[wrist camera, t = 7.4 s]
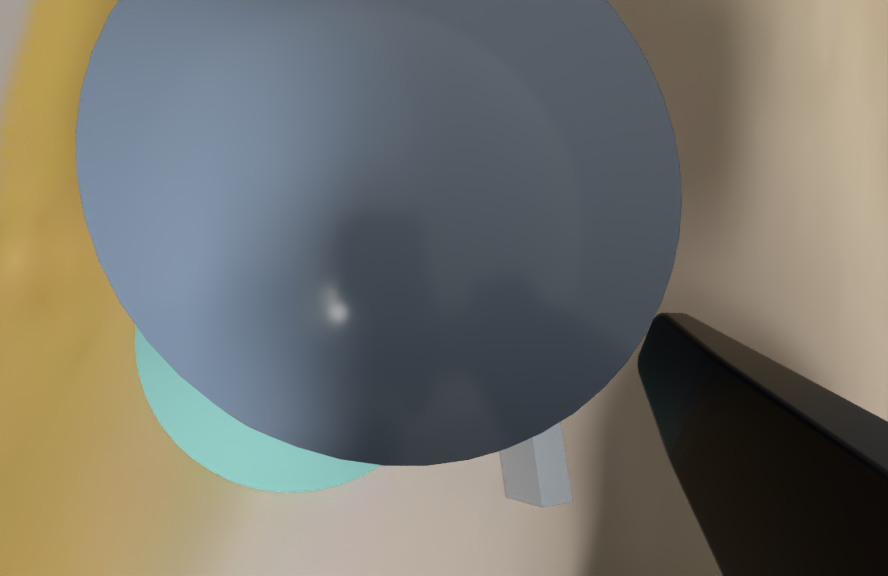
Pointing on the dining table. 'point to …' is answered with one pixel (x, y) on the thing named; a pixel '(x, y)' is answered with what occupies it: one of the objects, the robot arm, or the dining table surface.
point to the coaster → (232, 436)
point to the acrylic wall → (537, 470)
